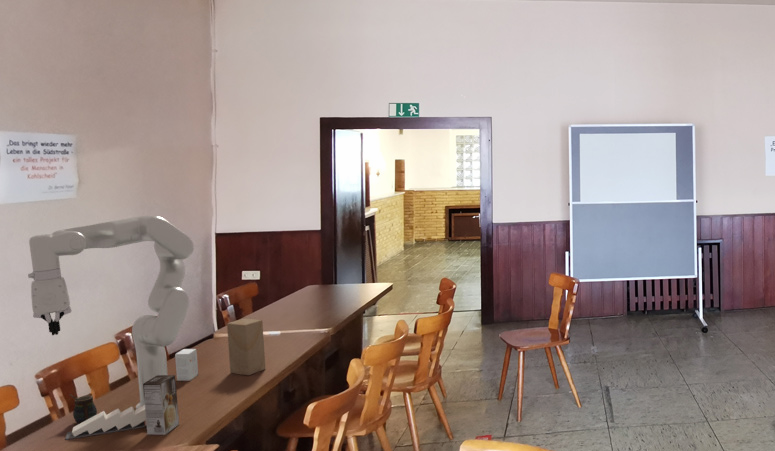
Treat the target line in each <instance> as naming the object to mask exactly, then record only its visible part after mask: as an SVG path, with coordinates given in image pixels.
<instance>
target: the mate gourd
mask: <svg viewBox="0 0 775 451" xmlns="http://www.w3.org/2000/svg"><path fill="white" fill-rule="evenodd" d="M69 395H70V396H71V397H72V398H73V399H74V409H73V410H72V411H73V412H72V415H73V419H74V421H75V423H77V424H80V423H82V422H84V421H86V420H88V419H90V418H91V417H93V416H95V415H97V414H98V409H97V406H96V405H95V403H94V396H92V395H83V396H82V395H80V396H79V397H75V396H74V395H72V394H71V393H70V394H69Z"/></svg>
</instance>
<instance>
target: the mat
mask: <svg viewBox="0 0 775 451" xmlns="http://www.w3.org/2000/svg"><path fill="white" fill-rule="evenodd" d="M142 428H143V429H144V428H146V426H145V421H143V422H142V423H140V424H138V425H136V426H134V427H133V428H132V426H131V424H128V425H126V426H124V427H123V428H121V429H119V430H118V429H117V427H116V426H114V427H112V428H111V429H109V430H107V431H105V432H104V431H103V430H102V428H100V429H99V430H97V431H95V432H93V433H91V434H89V432H88V431H87V430H86V431H84V432H83V433H81V434H79V435H77V436H75V437H74V435H73V434H72V431H67V432H66V435H65V441H66V440H67V441H68V440H73V439H79V438H80V439H81V438H84V437H91V436H99V435H103V434H111V433H116V432H123V431H124V432H125V431H130V430H135V429H142Z"/></svg>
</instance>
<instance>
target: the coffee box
mask: <svg viewBox="0 0 775 451" xmlns="http://www.w3.org/2000/svg"><path fill="white" fill-rule="evenodd" d="M176 382H177V379H176V375H175V374H171V375H169V374H168V375H157V376H155V377H154V378H152V379H150V380H149V381H147V382H145V383H144V384H143V390H144V401H145V412H146V423H147V426H146V434H147V435H154V436H155V435H157V436H158V435H159V436H160V435H161V436H162V435H163V436H165V435H167V434H169V433H170V432H171V431H173V430H174V428H177V426H179V425H180V418H179V417H180V416H179V406H178V393H177V384H176Z"/></svg>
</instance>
